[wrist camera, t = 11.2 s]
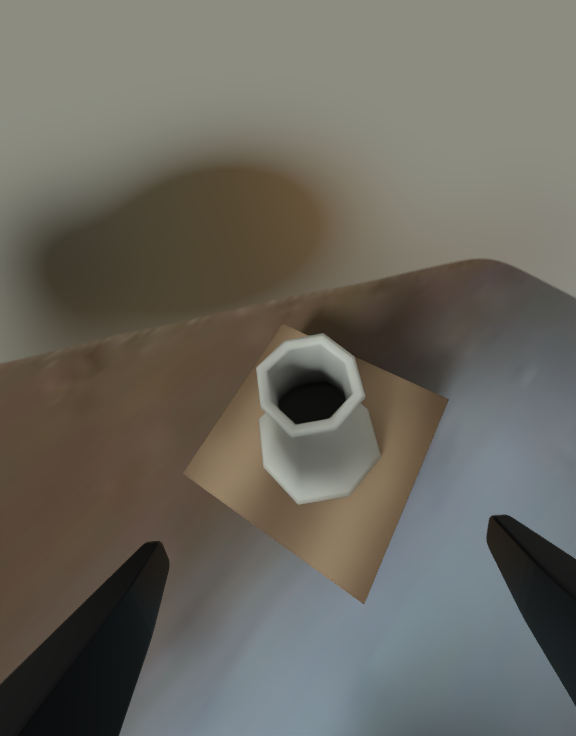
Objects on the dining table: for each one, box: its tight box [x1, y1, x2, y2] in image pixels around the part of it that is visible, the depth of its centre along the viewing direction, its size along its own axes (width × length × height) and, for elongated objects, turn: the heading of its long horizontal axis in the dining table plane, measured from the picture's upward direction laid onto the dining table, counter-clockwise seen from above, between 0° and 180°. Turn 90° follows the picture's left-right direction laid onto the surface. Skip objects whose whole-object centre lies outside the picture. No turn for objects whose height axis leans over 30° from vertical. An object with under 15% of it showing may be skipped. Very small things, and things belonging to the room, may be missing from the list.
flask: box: [256, 333, 381, 505], centre depth 13 cm, size 7×7×10 cm
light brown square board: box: [183, 324, 449, 604], centre depth 20 cm, size 12×12×4 cm
